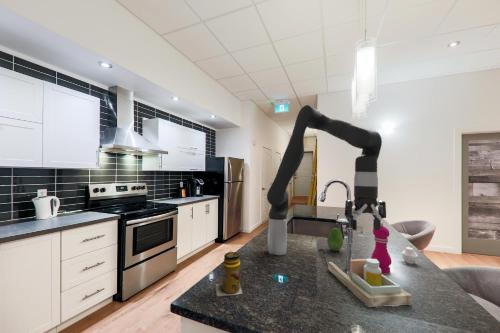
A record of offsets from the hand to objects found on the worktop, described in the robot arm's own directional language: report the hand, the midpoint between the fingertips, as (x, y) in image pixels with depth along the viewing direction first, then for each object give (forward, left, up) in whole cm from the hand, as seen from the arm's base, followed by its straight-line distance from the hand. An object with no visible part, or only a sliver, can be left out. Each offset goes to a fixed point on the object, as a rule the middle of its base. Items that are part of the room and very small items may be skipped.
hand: (365, 229), depth 74 cm
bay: (0, +2, -20) cm, 20 cm away
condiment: (-49, +3, -21) cm, 53 cm away
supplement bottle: (+1, -3, -20) cm, 20 cm away
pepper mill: (+15, +12, -21) cm, 28 cm away
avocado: (+7, +35, -21) cm, 41 cm away
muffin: (+34, +18, -21) cm, 44 cm away
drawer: (0, -4, -20) cm, 21 cm away
